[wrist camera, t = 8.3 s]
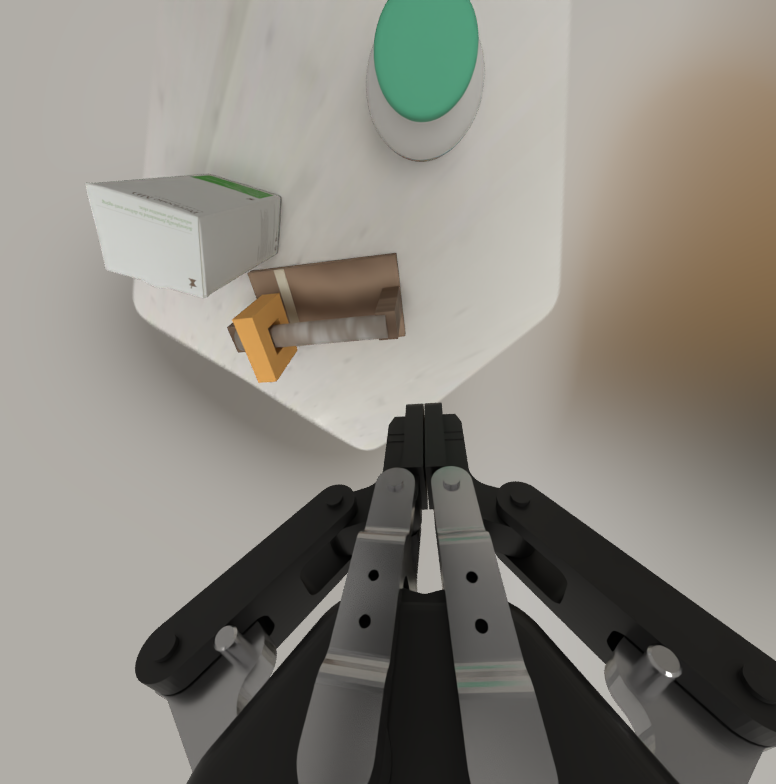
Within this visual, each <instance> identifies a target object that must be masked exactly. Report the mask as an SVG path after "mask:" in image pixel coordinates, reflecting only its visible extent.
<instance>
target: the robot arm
mask: <svg viewBox="0 0 776 784" xmlns="http://www.w3.org/2000/svg"><path fill="white" fill-rule="evenodd" d="M427 490H428V496H427ZM428 499H429V509H434V519H435V530H436V538H437V547H438V555H439V563H440V572H441V580H442V590H439V591H435V592H432V593H428V594H421V593H418V592H417V573H418V561H419V549H420V548H419V547H420V537H421V523H422V510H424V509H428V503H427V502H428ZM495 554H496V555H497V556H498V558H499V559H500V560H501V561H502V562H503V563H504V564H505V565H506V566H507V567H508V568H509V569H510V570H511V571H512V572H513V573H514V574H515V575H516V576H517V577H518V578H519V579H520V580H521V581H522V582H523V583H524V584H525V585H526V586H527V587H528V588H529V589H530V590H531V591H532V592H533V593H534V594H535V595H536V596H537V597H538V598H539V599H540V600H541V601H542V602H543V603H544V604H545V605H546V606H547V607H548V608H549V609H550V610H551V611H553V613H554V614H555V615H556V616H557V617H558V618H560V619H561V621H563V622H564V623H565V624H566V625H567V626H568V627H569V628H570V629H571V630H572V631H573V632H574V633H575V634H576V635H577V636H578V637H579V638H580V639H581V640H582V641H583V642H584V643H585V644H586V645H587V646H588V647H589V648H590V649H591V650H592V651H593V652H594V653H595V654H596V655H597V656H598V657H599V658H600V659H601V660H602V661H603V662H604V663H605V664H606V665H605V670H604V674H605V680H606V684H607V687H608V690H609V692H610V694H611V696H612V697H613V699H614V700H615V702H616V703H617V704H618V706H619V707H620V708H621V710H622V711H623V712H624V713H625V715H626V716H627V718H628V719H629V721H630V723H631V725H632V727H633V728H634V731H635V733H634V732H633V731H632V730H631V728H630V727H629V726H628V725H627V724H626V723H625V722H624V720H623V719H622V718H621V717H620V716H619V715H618V714H617V713H616V712H615V711H614V709H613V708H612V707H611V706H610V705H609V704H608V703H607V702H606V700H605V699H604V698H603V697H602V696H601V695H600V694H599V692H598V691H596V689H595V688H594V687H593V686H592V685H591V684H590V683H589V681H588V680H587V679H586V678H585V677H584V676H583V675H582V673H581V672H580V671H579V670H578V669H577V668H576V667H575V666H574V664H573V663H572V662H571V661H570V660H569V659H568V658H567V657H566V656H565V654H563V652H562V651H561V650H560V649H559V648H558V647H557V645H556V644H555V643H554V642H553V641H552V640H551V639H550V638H549V636H548V635H547V634H546V633H545V632H544V631H543V630H542V629H541V628H540V626H539V625H538V624H537V623H536V622H535V621H534V620H533V619H532V618H530V617H529V616H528V615H527V614H526V613H525V612H523V611H522V610H520V609H519V608H518V607H516V606H514V605H513V604H511V603H509V602H508V601H507V597H506V593H505V590H504V586H503V582H502V578H501V574H500V571H499V567H498V563H497V559H496V556H495ZM347 573H348V574H347ZM346 574H347V578H346V582H345V586H344V590H343V594H342V598H341V601H339V602H338V603H337V604H335V605H334V606H333V607H331V608H330V609H329V610H328V611H327V612H326V613H325V614H324V615H323V616H322V617H321V618H320V619H319V621H318V622H317V623H316V624H315V625H314V626H313V628H312V629H311V630H310V631H309V632H308V634H307V635H306V636H305V637H304V638H303V639H302V641H301V642H300V643H299V644H298V645H297V646H296V648H295V649H294V650H293V651H292V652H291V653H290V655H289V656H288V657H287V658H286V659H285V661H284V662H283V663H282V664H281V665H280V666H279V667H278V669H277V670H276V671H275V672H274V673H273V675H272V676H271V674H272V672H273V669H274V667H275V663H276V656H277V651H276V649H277V648H278V647H279V646H280V645H281V643H282V642H283V641H284V640H285V639H286V638H287V637H288V636H289V635H290V634H291V633H292V632H293V631H294V630H295V629H296V627H297V626H298V625H299V624H300V623H301V622H302V621H303V620H304V619H305V618H306V617H307V616H308V615H309V614H310V612H311V611H312V610H313V609H314V608H315V607H316V606H317V605H318V604H319V603H320V602H321V601H322V600H323V599H324V597H326V595H327V594H328V593H329V592H330V591H331V590H332V589H333V588H334V587H335V586H336V585H337V584H338V583H339V582H340V580H341V579H342V578H343V577H344V576H345V575H346ZM135 673H136V676H137V678H138V680H139V681H140V682H141V683H143V684H145V685H147V686H148V687H150V688H152V689H153V690H155V692H156V693H157V694H158V695H159V696H161V697H163V698H164V699H166V700H167V701H168V703H169V706H170V709H171V712H172V715H173V717H174V720H175V723H176V726H177V729H178V731H179V734H180V738H181V740H182V743H183V746H184V749H185V752H186V755H187V758H188V760H189V763H190V766H191V769H192V772H193V773H192V774H191V777H190V778H189V780H188V782H187V784H748V782H749V780H750V778H751V775H752V773H753V771H754V769H755V767H756V764H757V762H758V760H759V758H760V756H761V754H762V752H764V751H767V750H769V749H771V748H774V747H776V661H775V660H773V659H772V658H771V657H769V656H768V655H767V654H765V653H764V652H762V651H761V650H760V649H758V648H757V647H755V646H754V645H753V644H751V643H750V642H748V641H747V640H745V639H744V638H743V637H742V636H740V635H739V634H737V633H736V632H734V631H733V630H732V629H730V628H729V627H728V626H726V625H725V624H723V623H722V622H721V621H719V620H718V619H717V618H715V617H714V616H712V615H711V614H709V613H708V612H706V611H705V610H704V609H703V608H701V607H700V606H698V605H697V604H696V603H694V602H693V601H691V600H690V599H688V598H687V597H686V596H685V595H683V594H682V593H680V592H679V591H677V590H676V589H675V588H673V587H672V586H671V585H669V584H667V583H666V582H665V581H664V580H662V579H661V578H659V577H658V576H656V575H655V574H654V573H652V572H651V571H650V570H648V569H647V568H646V567H644V566H643V565H641V564H640V563H639V562H637V561H636V560H634V559H633V558H632V557H630V556H629V555H627V554H626V553H624V552H623V551H622V550H620V549H619V548H618V547H616V546H615V545H613V544H612V543H611V542H609V541H608V540H607V539H605V538H604V537H602V536H601V535H599V534H598V533H597V532H595V531H594V530H593V529H591V528H590V527H589V526H587V525H586V524H584V523H583V522H581V521H580V520H579V519H577V518H576V517H575V516H573V515H572V514H570V513H569V512H568V511H566V510H565V509H563V508H562V507H560V506H559V505H558V504H557V503H555V502H554V501H552V500H551V499H549V498H548V497H547V496H545V495H544V494H543V493H541V492H540V491H538V490H537V489H535V488H534V487H533V486H531V485H528V484H526V483H523V482H516V481H515V482H508V483H506V484H504V485H502V486H501V487H500V488H496V487H492V486H488V485H485V484H483V483H481V482H479V481H477V480H476V479H475V478H474V477H473V476H472V475H471V473H470V471H469V468H468V462H467V455H466V449H465V442H464V436H463V429H462V423H461V421H460V419H459V418H458V417H457V416H456V415H455V414H442V403H425V416H424V406H423V404H408V405H406V414H405V417H394V419H393V420H392V422H391V423H390V424H389V428H388V436H387V444H386V452H385V460H384V468H383V473H382V474H380V476H379V477H378V479H377V481H376V483H374V484H373V485H371V486H369V487H367V488H364V489H361V490H357V491H354V492H353V491H352V489H351V488H349V487H348V486H345V485H333V486H330V487H328V488H326V489H324V490H323V491H322V492H321V493H319V494H318V495H317V496H316V497H315V498H313V499H312V500H311V501H310V502H309V503H308V504H306V505H305V506H304V507H303V508H301V509H300V510H299V511H298V512H297V513H295V514H294V515H293V516H292V517H291V518H289V519H288V520H287V521H286V522H285V523H283V524H282V525H281V526H280V527H279V528H277V529H276V530H275V531H274V532H273V533H271V534H270V535H269V536H268V537H267V538H265V539H264V540H263V541H262V542H261V543H260V544H258V545H257V546H256V547H255V548H253V549H252V550H251V551H250V552H249V553H247V554H246V555H245V556H244V557H243V558H242V559H240V560H239V561H238V562H237V563H235V564H234V565H233V566H232V567H231V568H229V569H228V570H227V571H226V572H225V573H224V574H222V575H221V576H220V577H219V578H217V579H216V580H215V581H214V582H213V583H211V584H210V585H209V586H208V587H207V588H205V589H204V590H203V591H202V592H200V593H199V594H198V595H197V596H196V597H195V598H193V599H192V600H191V601H190V602H189V603H187V604H186V605H185V606H184V607H182V608H181V609H180V610H179V611H178V612H176V613H175V614H174V615H173V616H172V617H171V618H169V619H168V620H167V621H166V622H164V623H163V624H162V625H161V626H160V627H158V629H156V630H155V631H154V632H153V633H152V634H151V635H150V636H149V638H148V639H147V640H146V642H145V644H144V645H143V647H142V648H141V650H140V652H139V654H138V657H137V660H136V665H135ZM270 676H271V677H270Z"/></svg>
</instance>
